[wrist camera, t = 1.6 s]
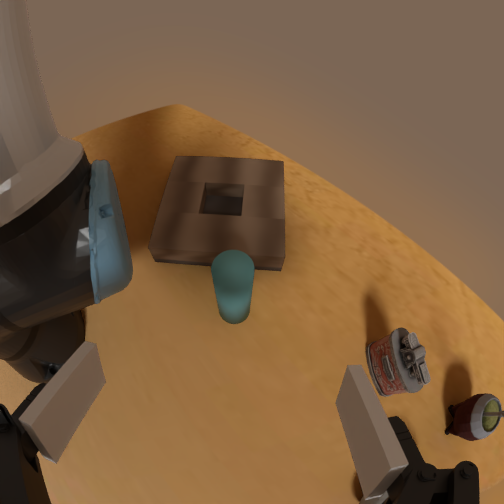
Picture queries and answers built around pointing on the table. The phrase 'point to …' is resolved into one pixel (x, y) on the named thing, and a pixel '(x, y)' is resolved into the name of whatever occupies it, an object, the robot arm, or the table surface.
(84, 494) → the table surface
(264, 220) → the hole board
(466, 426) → the mate gourd
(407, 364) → the lighter
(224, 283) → the pin
